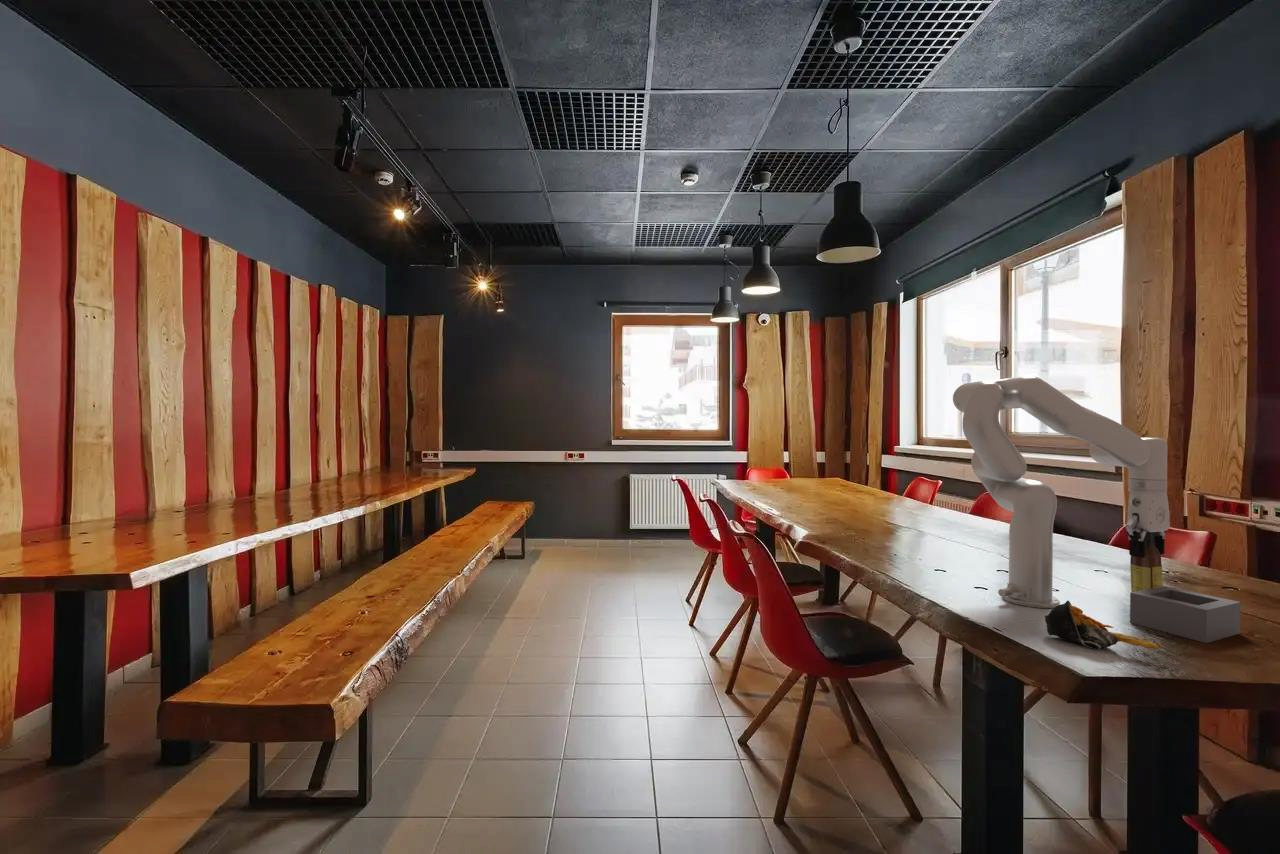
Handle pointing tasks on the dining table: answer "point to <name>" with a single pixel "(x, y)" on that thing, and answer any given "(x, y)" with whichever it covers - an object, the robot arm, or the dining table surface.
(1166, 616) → the box
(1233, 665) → the dining table surface
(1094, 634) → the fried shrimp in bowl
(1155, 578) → the sauce bottle
